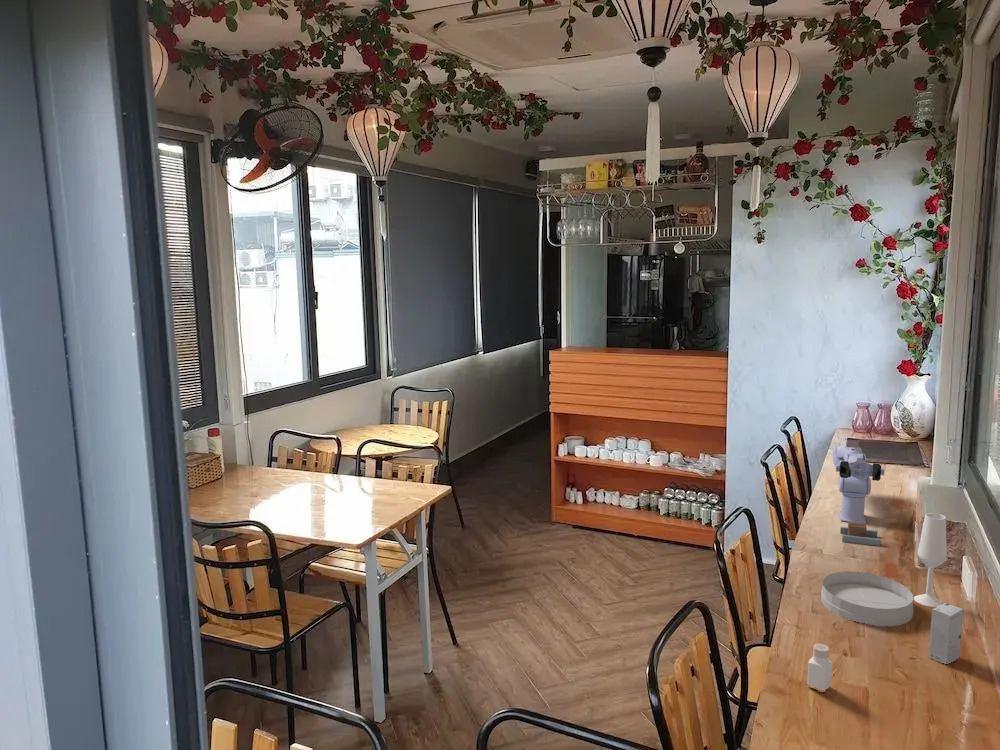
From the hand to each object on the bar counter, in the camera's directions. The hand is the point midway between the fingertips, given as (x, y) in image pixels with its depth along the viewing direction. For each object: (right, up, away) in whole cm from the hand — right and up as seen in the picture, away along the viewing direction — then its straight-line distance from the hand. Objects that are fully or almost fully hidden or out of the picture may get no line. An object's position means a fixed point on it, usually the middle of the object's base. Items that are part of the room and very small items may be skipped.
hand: (862, 475), depth 238 cm
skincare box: (-13, -34, -66) cm, 75 cm away
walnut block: (0, -21, +4) cm, 22 cm away
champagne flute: (-1, -29, -39) cm, 48 cm away
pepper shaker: (-47, -36, -77) cm, 97 cm away
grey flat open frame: (+1, -21, +4) cm, 22 cm away
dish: (-19, -30, -41) cm, 54 cm away
